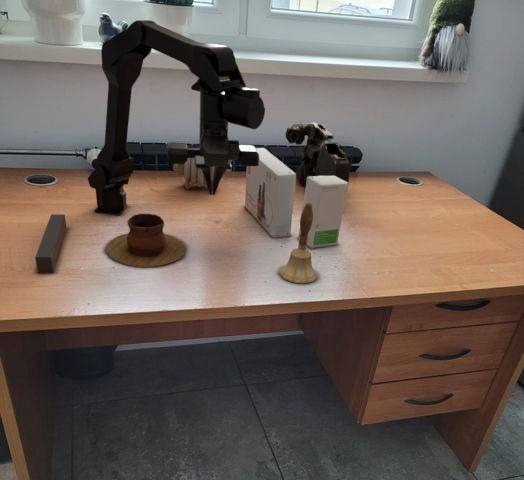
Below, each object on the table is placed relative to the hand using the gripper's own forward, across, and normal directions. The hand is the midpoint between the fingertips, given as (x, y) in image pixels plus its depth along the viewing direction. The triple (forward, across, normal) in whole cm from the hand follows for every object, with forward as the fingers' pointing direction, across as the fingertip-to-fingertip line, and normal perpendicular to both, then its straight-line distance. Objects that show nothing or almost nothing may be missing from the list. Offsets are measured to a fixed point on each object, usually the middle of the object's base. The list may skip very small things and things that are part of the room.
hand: (211, 194), depth 112 cm
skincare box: (+13, +16, +17) cm, 27 cm away
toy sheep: (+13, +2, +41) cm, 43 cm away
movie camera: (+13, +37, +41) cm, 57 cm away
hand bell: (+13, +18, -13) cm, 26 cm away
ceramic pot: (+13, -14, 0) cm, 20 cm away
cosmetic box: (+13, +27, +5) cm, 31 cm away
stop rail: (+13, -34, 0) cm, 37 cm away
